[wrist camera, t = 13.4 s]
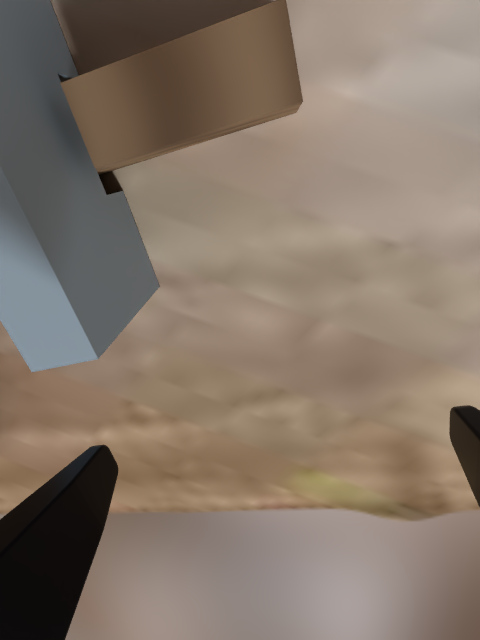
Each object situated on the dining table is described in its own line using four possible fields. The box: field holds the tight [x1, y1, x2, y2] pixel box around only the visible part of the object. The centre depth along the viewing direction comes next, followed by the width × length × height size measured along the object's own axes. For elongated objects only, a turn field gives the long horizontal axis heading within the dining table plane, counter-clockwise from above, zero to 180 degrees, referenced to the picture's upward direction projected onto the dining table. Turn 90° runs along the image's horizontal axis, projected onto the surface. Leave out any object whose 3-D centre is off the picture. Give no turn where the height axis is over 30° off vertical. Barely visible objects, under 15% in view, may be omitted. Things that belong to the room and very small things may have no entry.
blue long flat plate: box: [0, 0, 160, 372], centre depth 14 cm, size 3×16×8 cm, turn 15°
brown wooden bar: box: [60, 0, 303, 175], centre depth 16 cm, size 22×3×4 cm, turn 105°
